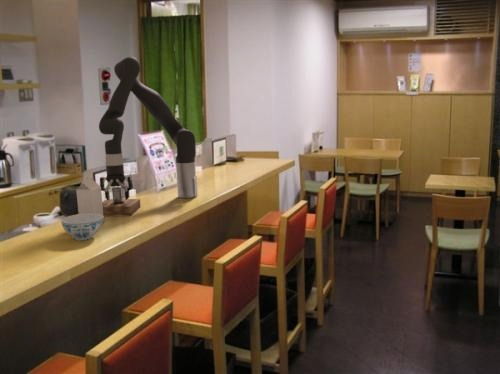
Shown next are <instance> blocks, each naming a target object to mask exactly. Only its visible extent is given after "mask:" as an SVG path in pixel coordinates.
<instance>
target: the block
mask: <svg viewBox="0 0 500 374" xmlns="http://www.w3.org/2000/svg"><path fill="white" fill-rule="evenodd" d="M122 203H123V204H113V198H112V199H109V200H107V199H105V200H102V205H103V217H125V216H126V217H127V216H128V217H129V216H133V215H134V214H135V213H136V212H137V211H138V210H140V208H142V207H141V199H140V198H128V199H127V200H126V199H125V198H122Z"/></svg>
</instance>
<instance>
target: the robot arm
mask: <svg viewBox="0 0 500 374" xmlns="http://www.w3.org/2000/svg"><path fill="white" fill-rule="evenodd" d="M113 69H114V71H113V72H114V74H115V76H116V77H117V78H118V80H119V83H118V85H117V86H116V88H115V90H114V91H113V94H112V95H111V97H110V100H109V104H108V108H107V110H106V111H105V112H104V114H103V115H102V117H101V118H100V120H99V124H98V129H99V132H100V133H101V134H102V135H105V136H106V135H109V136H110V135H113V136H112V139H109V140H106V141H105V142H104V152H105V156H104V157H105V160H104V161H105V167H106V170H105V171H106V176H105V177H104V176H100V177H99V186H100V187H101V192H104V196H105V197H104V198H105V200H109V199H110V197H111V195H110V191H109V190H110V189H111V188H113V187H121V189H123V190H124V199H126V200H127V199H130V191H131V190H133V189H134V185H133V179H132V178H133V177H132V175H129V176H125V171H124V170H125V168H124V158H123V151H122V140H123V136H124V135H123V134H124V130H125V129H124V128H125V125H124V121H123V120H122V119H121V117H123V116H124V114H125V111H126V106H127V103H128V99H129V97H130V93H132V94H133V95H134V96H135V97H136V98H137V99H138V101H139V102H140V103H141V104H142V105H143V107H144V108H145V109H146V110H147V111H148V112H149V114H150V115H151V116H152V118H154V119H155V120H156V121H157V123H158V124H159V125H161V126H162V127H163V129H164V130H165V131H166V132H167V135H169V137H170V139H171V140H172V141H173V143H174V145H176V157H175V168H176V184H177V185H176V186H177V197H178V198H181V199H191V198H197V196H198V195H199V194H198V181H197V179H198V178H197V175H196V162H195V161H196V155H197V154H196V153H197V152H196V151H197V150H196V149H197V148H196V138H195V134H194V133H193V132H192V131H191V130H189V129H186V128H185V127H184V126H183V125H182V124H181V123H180V122H179V121H178V120H177V119H176V117H175V115H174V114H173V112H172V110H171V107H170V106H169V104H168V103H167V101H166V100H165V99H164V98H163V96H162V95H161V94H160V93H159V92H157V91H156V90H154V89H152V88H150V87H148V86H146V85H145V84H143V83H142V82H141V81H140V80H139V78H138V76H139V75H140V71H141V63H140V61H139V60H138V59H137V58H136V57H134V56H127V57H125V58H123V59H122V60H120V61H119V62H117V63H116V64H115V65H114V68H113ZM106 181H107V183H108V184H107V185H106V186H105V182H106ZM125 181H126V182H127V184H126V183H125Z"/></svg>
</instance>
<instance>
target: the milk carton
mask: <svg viewBox="0 0 500 374" xmlns="http://www.w3.org/2000/svg"><path fill="white" fill-rule="evenodd" d="M75 191H76V199H77V200H76V201H77V212H78V214H89V213H91V214H100V215H102V223H101V224H103V223H105V220H104V219H105V218H104V217H105V216H103V205H102V202H103V198H102V197H103V196H102V191H101V187H100V184H98V183H97V182H96V181H95V180H94V176H93V177H89V178H86V179H83V180H82V182H81V183H80V186H78V188H77V189H76V190H75Z"/></svg>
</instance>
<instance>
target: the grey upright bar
mask: <svg viewBox="0 0 500 374" xmlns="http://www.w3.org/2000/svg"><path fill="white" fill-rule="evenodd" d="M111 191H112V199H113V204H123V203H122V199H123V194H122V187H121V186H114V187H111Z"/></svg>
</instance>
